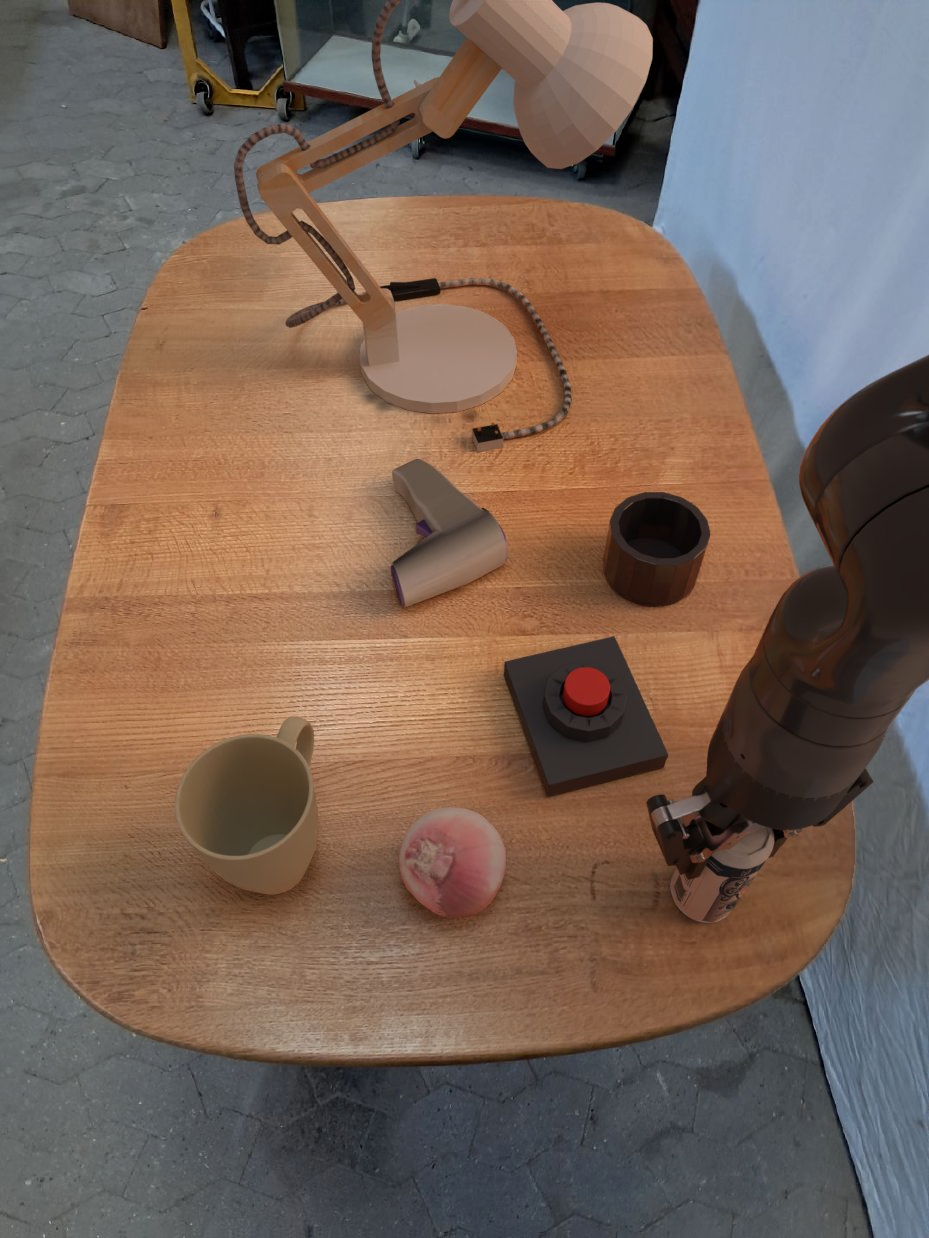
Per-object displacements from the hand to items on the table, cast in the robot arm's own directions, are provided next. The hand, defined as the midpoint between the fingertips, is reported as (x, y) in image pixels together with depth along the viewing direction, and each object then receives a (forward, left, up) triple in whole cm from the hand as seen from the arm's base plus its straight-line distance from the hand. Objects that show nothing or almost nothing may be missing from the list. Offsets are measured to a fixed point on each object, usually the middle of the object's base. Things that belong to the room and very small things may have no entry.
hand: (724, 854), depth 61 cm
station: (+16, -5, -7) cm, 18 cm away
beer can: (0, 0, -8) cm, 8 cm away
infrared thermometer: (+40, -9, -8) cm, 42 cm away
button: (+16, -5, -4) cm, 17 cm away
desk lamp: (+58, -30, -8) cm, 66 cm away
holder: (+22, -22, -7) cm, 32 cm away
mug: (+25, +20, -8) cm, 33 cm away
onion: (+14, +12, -8) cm, 20 cm away
